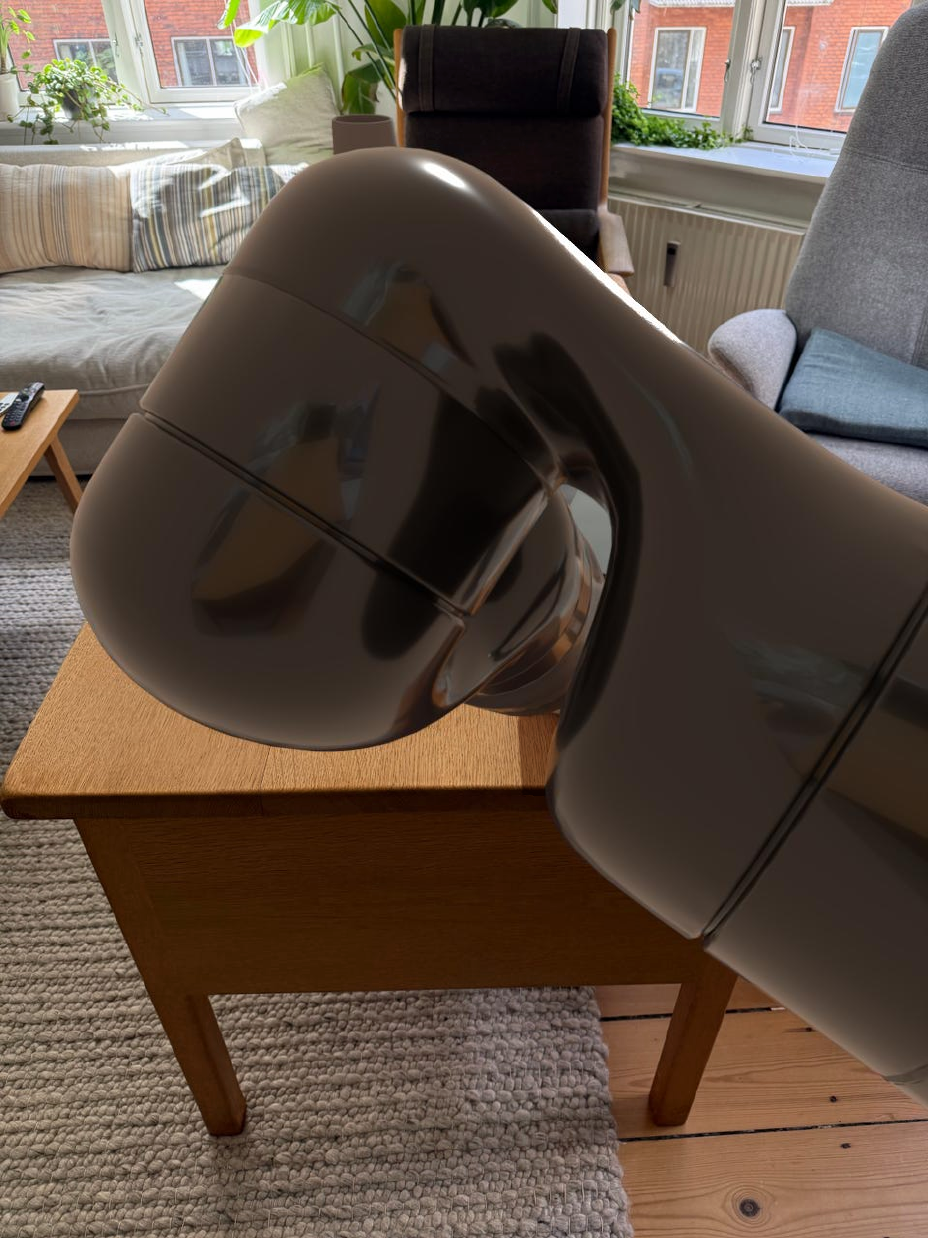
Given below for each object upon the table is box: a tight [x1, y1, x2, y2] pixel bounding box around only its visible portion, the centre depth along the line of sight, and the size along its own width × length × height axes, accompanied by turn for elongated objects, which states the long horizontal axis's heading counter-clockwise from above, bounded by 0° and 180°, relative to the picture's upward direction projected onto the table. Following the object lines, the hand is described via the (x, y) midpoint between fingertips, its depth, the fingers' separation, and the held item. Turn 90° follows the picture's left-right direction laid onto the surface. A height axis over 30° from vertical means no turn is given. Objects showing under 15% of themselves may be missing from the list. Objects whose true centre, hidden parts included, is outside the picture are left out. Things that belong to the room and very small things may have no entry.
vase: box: [331, 113, 400, 156], centre depth 109 cm, size 13×13×35 cm
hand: (559, 660), depth 48 cm, fingers closed
